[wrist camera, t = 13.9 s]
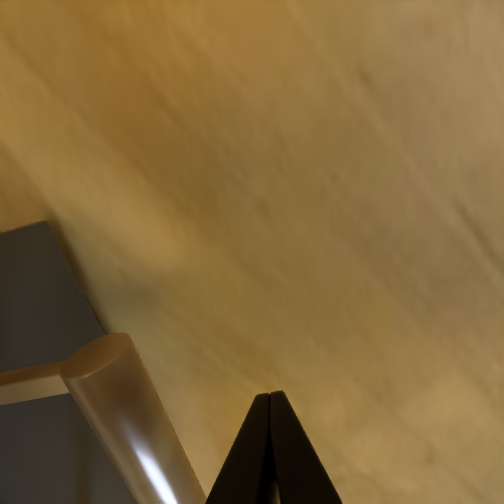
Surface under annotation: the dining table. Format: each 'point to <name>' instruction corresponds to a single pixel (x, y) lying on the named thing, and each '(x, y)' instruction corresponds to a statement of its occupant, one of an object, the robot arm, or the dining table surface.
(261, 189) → the dining table surface
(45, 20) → the dining table surface
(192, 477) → the drawer
